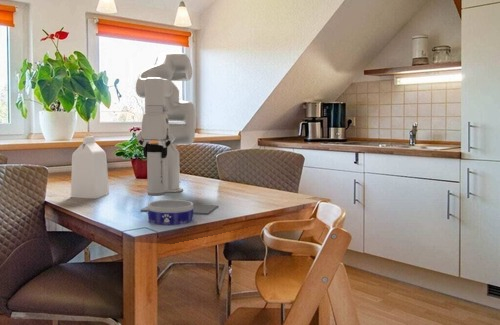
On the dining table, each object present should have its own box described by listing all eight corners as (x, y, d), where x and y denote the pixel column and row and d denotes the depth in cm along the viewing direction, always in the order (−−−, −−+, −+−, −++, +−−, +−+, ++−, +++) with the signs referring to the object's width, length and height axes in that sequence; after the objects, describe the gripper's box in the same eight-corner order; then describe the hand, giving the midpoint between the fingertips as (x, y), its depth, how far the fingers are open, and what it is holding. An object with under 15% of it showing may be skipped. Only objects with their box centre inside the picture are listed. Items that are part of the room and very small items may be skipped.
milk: (95, 198, 202) (94, 137, 200) (71, 197, 204) (69, 136, 202) (109, 193, 214) (108, 136, 211) (85, 192, 216) (84, 135, 214)
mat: (155, 203, 192) (155, 202, 192) (218, 206, 187) (218, 205, 187) (140, 211, 177) (140, 209, 177) (207, 214, 172) (207, 213, 172)
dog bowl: (194, 216, 171) (194, 199, 170) (191, 226, 156) (191, 207, 155) (152, 215, 170) (152, 199, 170) (144, 225, 155) (144, 207, 154)
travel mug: (145, 194, 185) (144, 142, 183) (162, 193, 187) (161, 142, 185) (148, 196, 179) (147, 143, 177) (165, 195, 181) (164, 143, 179)
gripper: (180, 111, 182) (180, 157, 184) (137, 110, 185) (138, 156, 187) (173, 110, 175) (173, 159, 177) (129, 110, 178) (130, 157, 180)
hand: (155, 157), depth 182 cm, fingers closed on travel mug, 6 cm apart
